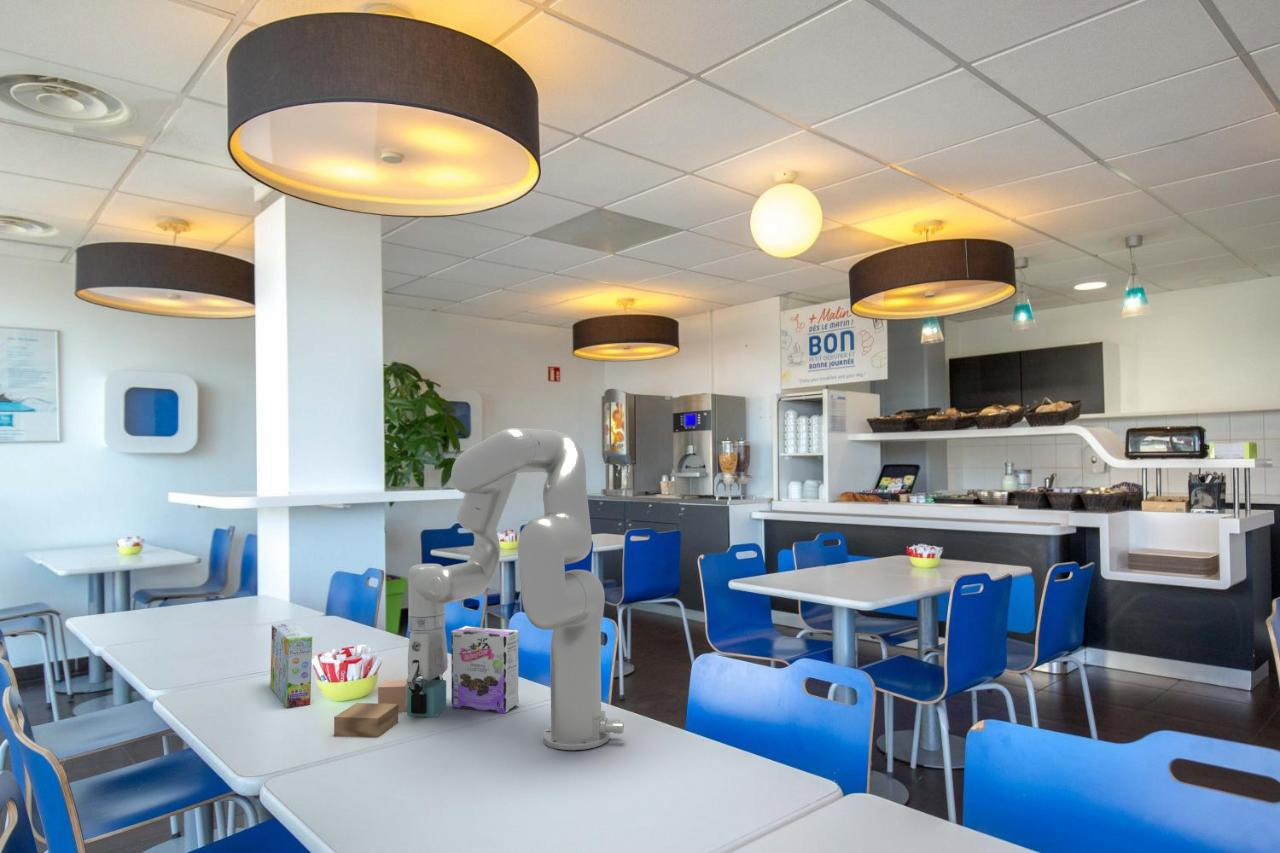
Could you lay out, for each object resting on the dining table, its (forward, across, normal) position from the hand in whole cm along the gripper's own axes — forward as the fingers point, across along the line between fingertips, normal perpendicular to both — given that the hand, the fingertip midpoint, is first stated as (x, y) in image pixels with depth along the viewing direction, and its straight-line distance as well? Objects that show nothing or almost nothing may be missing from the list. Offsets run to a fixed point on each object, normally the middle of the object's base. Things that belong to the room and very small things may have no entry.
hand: (427, 707), depth 168 cm
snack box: (+1, +7, +37) cm, 38 cm away
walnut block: (+1, -12, +7) cm, 14 cm away
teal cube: (+1, 0, 0) cm, 1 cm away
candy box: (+1, +5, -11) cm, 12 cm away
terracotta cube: (+1, +1, +8) cm, 8 cm away
